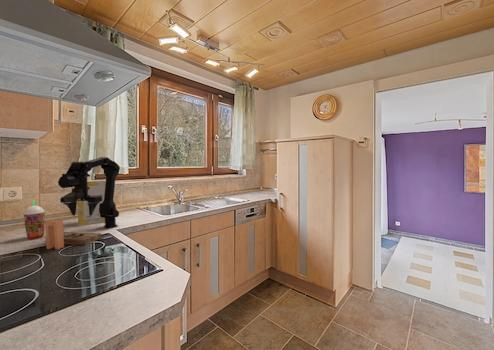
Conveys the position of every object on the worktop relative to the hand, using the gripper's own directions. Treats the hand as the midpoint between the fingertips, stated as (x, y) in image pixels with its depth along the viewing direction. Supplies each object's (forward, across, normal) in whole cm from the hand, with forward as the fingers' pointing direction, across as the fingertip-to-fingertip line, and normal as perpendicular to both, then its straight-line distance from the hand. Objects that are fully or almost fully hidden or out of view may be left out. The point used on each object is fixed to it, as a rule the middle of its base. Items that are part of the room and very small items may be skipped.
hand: (82, 215), depth 117 cm
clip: (+12, -3, -13) cm, 18 cm away
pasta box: (+12, -17, +32) cm, 38 cm away
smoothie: (+12, -27, 0) cm, 30 cm away
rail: (+12, -2, -3) cm, 13 cm away
